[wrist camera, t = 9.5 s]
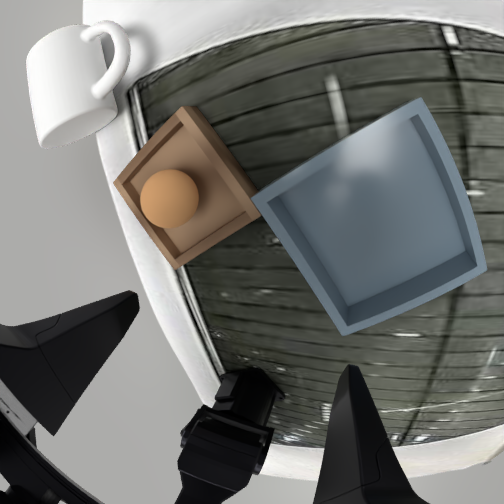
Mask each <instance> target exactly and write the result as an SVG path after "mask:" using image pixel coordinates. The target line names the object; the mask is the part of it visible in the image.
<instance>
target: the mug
mask: <svg viewBox="0 0 504 504" xmlns="http://www.w3.org/2000/svg"><path fill="white" fill-rule="evenodd" d="M103 33H109V34H110V35H111V37H112V39H113V42H114V46H115V55H114V59H113V61H112V63H111V65H110V67H109V69H108V70H107V67H106V63H105V59H104V54H103V50H102V45H101V40H100V35H101V34H103ZM130 54H131V49H130V42H129V39H128V36H127V34H126V32H125V31H124V29H123V28H122V27H121V26H120V25H119V24H117V23H115V22H113V21H101V22H98V23H95V24H93V25H92V26H89V25H83V24H79V25H71V26H66V27H63V28H60V29H57V30H55V31H53V32H51V33H49V34H48V35H46V36H45V37H43V38H42V39H41V40H39V41H38V42H37V43H36V44H35V45H34V46H33V48H32V49H31V50H30V52H29V54H28V56H27V59H26V67H27V78H28V86H29V94H30V100H31V107H32V112H33V117H34V122H35V127H36V132H37V137H38V141H39V144H40V146H41V147H42V148H46V149H47V148H48V149H50V148H57V147H60V146H64V145H67V144H70V143H73V142H75V141H78V140H80V139H82V138H84V137H87V136H89V135H90V134H93V133H94V132H96V131H98V130H100V129H101V128H103V127H105V126H106V125H107V124H109V123H110V122H111V121H112V120H113V119H114V118H115V117H116V115H117V113H118V109H117V105H116V102H115V98H114V94H113V91H112V90H113V89H114V88H115V86H116V85H117V84H118V83H119V81H120V80H121V79H122V77H123V76H124V74H125V72H126V70H127V67H128V64H129V61H130Z"/></svg>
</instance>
